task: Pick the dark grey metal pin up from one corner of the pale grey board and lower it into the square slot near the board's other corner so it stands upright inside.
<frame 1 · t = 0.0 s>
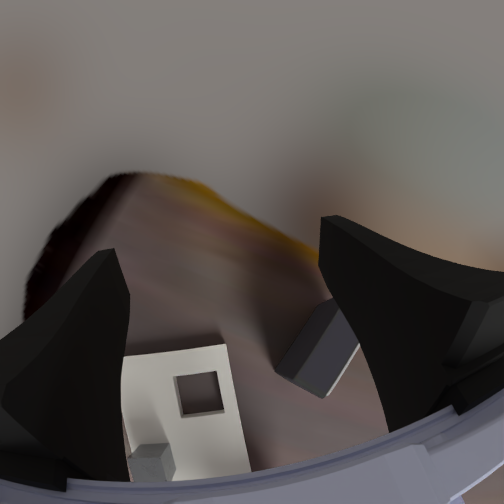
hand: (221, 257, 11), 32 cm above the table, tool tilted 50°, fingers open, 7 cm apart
dark grey rectangular block: (305, 343, 42), on the table
slot board: (182, 416, 38), on the table
pin: (158, 457, 33), point 2 cm above the table, touching slot board
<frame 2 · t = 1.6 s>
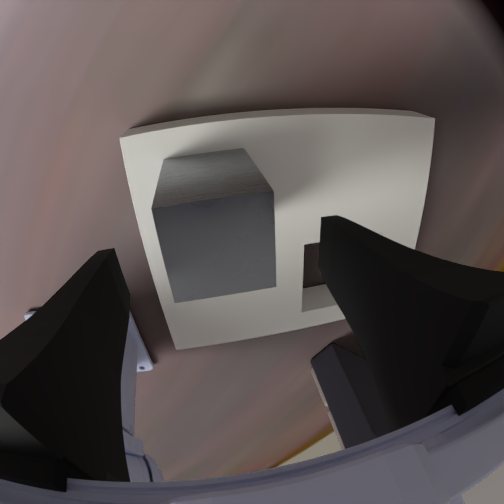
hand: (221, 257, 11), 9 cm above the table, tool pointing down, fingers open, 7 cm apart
dark grey rectangular block: (348, 363, 32), on the table
slot board: (289, 223, 21), on the table
pin: (208, 190, 16), point 2 cm above the table, touching slot board
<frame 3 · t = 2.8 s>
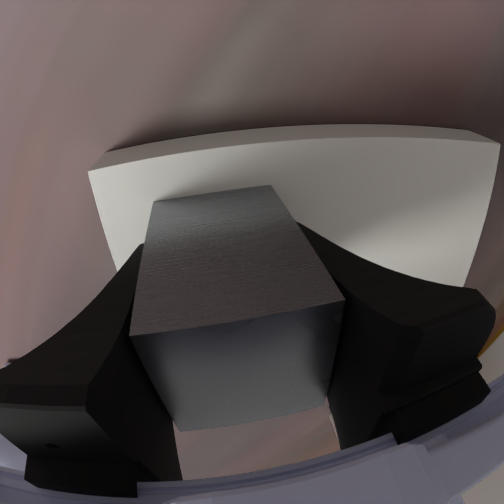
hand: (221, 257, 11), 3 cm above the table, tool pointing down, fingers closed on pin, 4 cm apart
slot board: (319, 270, 16), on the table
pin: (218, 243, 12), point 2 cm above the table, touching gripper, slot board
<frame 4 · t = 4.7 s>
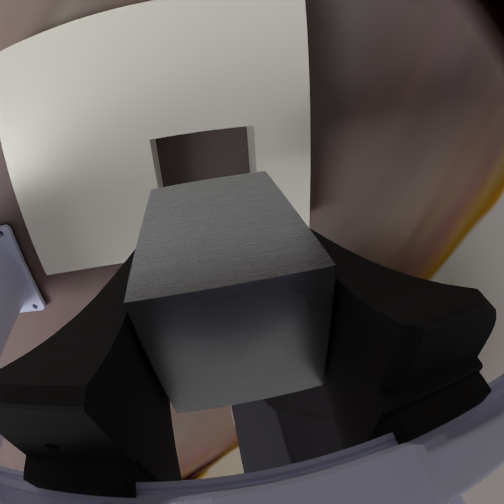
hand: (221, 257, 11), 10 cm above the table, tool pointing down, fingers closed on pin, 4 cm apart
dark grey rectangular block: (272, 324, 28), on the table
slot board: (150, 128, 17), on the table
pin: (215, 230, 12), point 9 cm above the table, touching gripper
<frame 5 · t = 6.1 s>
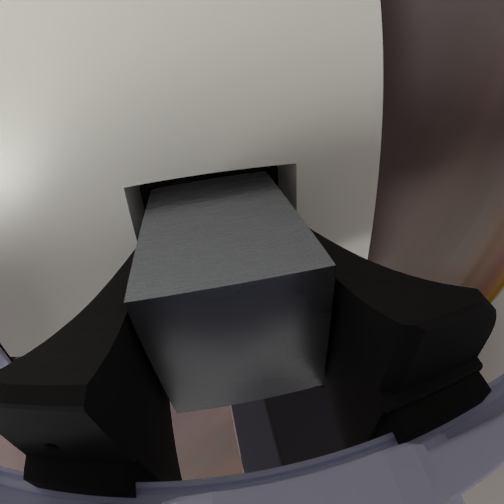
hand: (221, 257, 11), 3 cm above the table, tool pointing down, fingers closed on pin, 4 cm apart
dark grey rectangular block: (294, 390, 22), on the table
slot board: (129, 161, 11), on the table
pin: (215, 230, 12), point 2 cm above the table, touching gripper
when the fingers open (3 cm above the table, at t = 6.9 s): pin drops 2 cm, resting in slot board.
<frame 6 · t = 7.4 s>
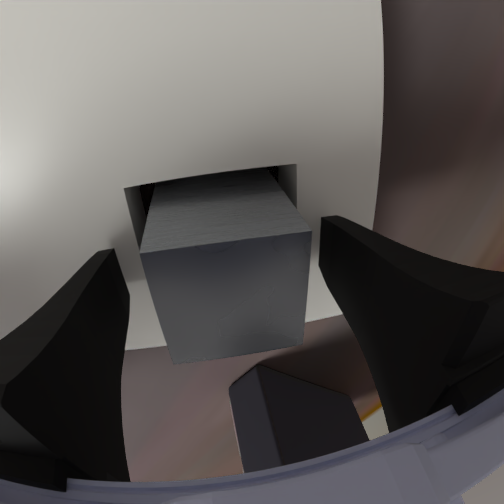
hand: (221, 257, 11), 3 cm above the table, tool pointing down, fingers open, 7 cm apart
dark grey rectangular block: (295, 391, 22), on the table
slot board: (129, 161, 11), on the table
pin: (214, 210, 13), resting in slot board
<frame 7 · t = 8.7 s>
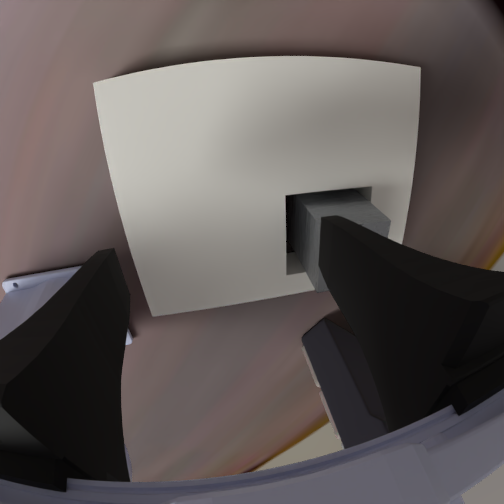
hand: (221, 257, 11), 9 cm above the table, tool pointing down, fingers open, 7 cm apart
dark grey rectangular block: (343, 343, 30), on the table
slot board: (271, 177, 20), on the table
pin: (315, 209, 21), resting in slot board
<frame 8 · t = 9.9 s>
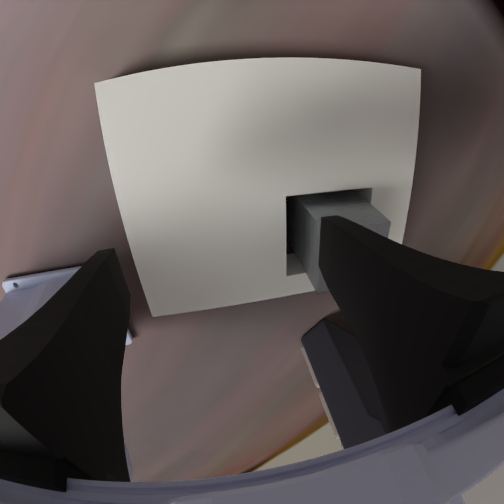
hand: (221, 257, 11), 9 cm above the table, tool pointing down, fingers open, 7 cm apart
dark grey rectangular block: (342, 344, 31), on the table
slot board: (271, 178, 20), on the table
pin: (315, 210, 22), resting in slot board
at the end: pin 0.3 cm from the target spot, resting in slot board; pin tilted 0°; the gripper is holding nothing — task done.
